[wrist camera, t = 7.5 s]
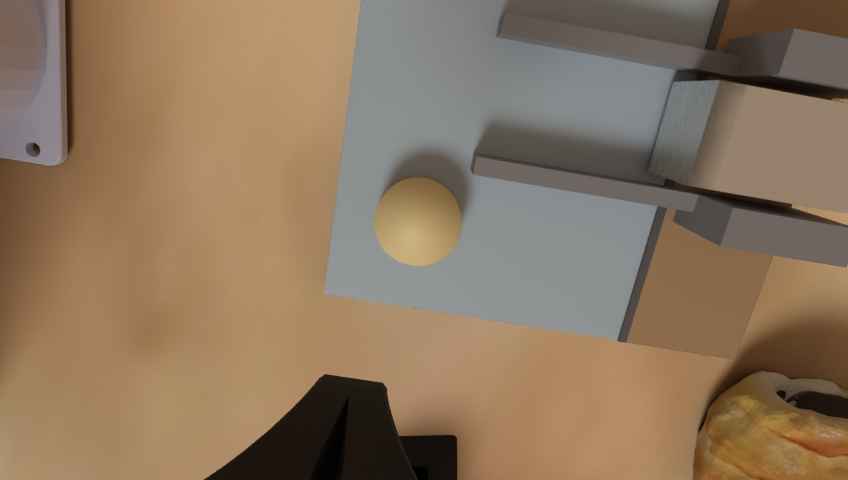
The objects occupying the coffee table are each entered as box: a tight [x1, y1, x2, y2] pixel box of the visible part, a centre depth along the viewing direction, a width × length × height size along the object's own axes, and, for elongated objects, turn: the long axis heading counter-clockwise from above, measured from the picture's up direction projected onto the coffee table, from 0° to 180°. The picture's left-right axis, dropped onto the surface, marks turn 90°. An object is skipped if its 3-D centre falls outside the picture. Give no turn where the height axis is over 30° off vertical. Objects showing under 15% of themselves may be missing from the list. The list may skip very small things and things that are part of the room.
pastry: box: [693, 371, 848, 480], centre depth 21 cm, size 9×7×4 cm
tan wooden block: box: [648, 80, 848, 213], centre depth 16 cm, size 6×3×3 cm, turn 80°
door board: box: [324, 0, 848, 360], centre depth 17 cm, size 16×16×4 cm
